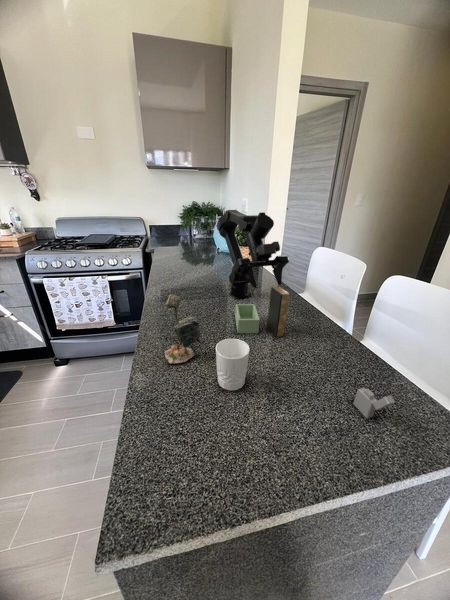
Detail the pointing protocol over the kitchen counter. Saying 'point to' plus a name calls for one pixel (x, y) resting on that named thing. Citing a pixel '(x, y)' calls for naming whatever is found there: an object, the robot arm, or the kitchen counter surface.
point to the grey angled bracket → (370, 402)
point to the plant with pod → (182, 335)
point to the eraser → (277, 311)
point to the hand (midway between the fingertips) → (268, 286)
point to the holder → (247, 318)
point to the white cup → (232, 363)
